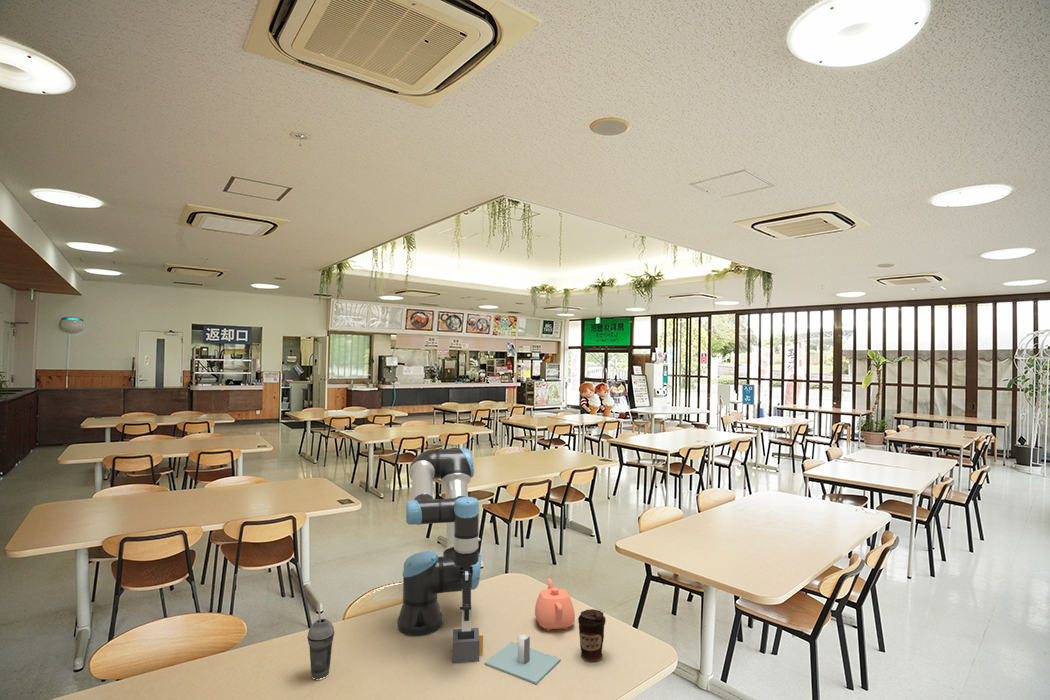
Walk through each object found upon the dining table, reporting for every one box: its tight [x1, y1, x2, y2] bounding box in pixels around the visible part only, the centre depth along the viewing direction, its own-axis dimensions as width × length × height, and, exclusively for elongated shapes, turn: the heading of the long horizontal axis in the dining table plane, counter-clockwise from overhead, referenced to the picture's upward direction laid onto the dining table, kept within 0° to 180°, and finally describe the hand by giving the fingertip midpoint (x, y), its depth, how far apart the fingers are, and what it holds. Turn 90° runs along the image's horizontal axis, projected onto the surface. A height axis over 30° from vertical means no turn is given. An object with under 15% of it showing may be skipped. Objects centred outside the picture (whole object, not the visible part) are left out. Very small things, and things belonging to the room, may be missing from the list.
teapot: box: [534, 577, 576, 632], centre depth 179 cm, size 13×20×12 cm, turn 8°
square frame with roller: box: [452, 627, 484, 664], centre depth 160 cm, size 9×8×6 cm
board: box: [484, 633, 562, 685], centre depth 155 cm, size 18×14×8 cm
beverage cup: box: [306, 603, 335, 679], centre depth 149 cm, size 7×7×20 cm
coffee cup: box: [577, 608, 606, 663], centre depth 159 cm, size 9×8×13 cm
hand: (466, 620), depth 159 cm, fingers open, 13 cm apart
